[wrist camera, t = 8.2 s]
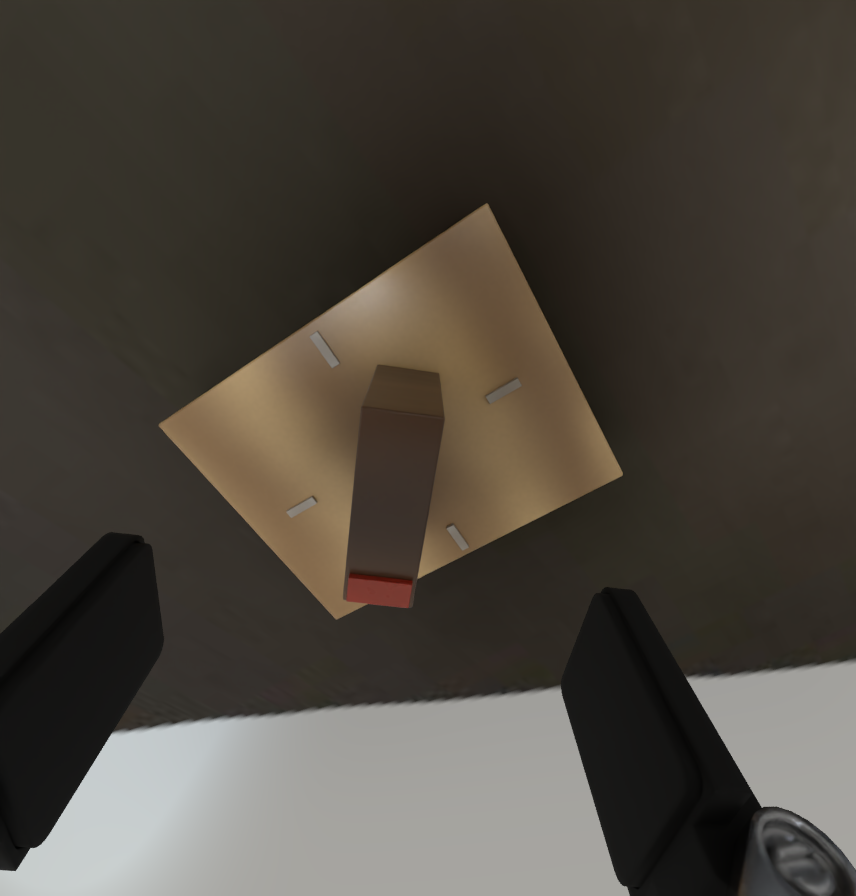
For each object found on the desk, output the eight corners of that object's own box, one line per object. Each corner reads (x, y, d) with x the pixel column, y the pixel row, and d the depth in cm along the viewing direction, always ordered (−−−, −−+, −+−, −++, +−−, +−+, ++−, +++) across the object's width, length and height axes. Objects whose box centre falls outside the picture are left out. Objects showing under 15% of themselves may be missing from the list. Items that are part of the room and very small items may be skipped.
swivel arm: (376, 363, 18) (359, 408, 13) (439, 372, 18) (446, 420, 13) (360, 520, 20) (341, 606, 16) (414, 526, 20) (412, 613, 16)
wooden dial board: (476, 209, 19) (488, 201, 15) (595, 442, 23) (626, 477, 19) (196, 398, 22) (154, 426, 18) (346, 573, 26) (335, 622, 23)
